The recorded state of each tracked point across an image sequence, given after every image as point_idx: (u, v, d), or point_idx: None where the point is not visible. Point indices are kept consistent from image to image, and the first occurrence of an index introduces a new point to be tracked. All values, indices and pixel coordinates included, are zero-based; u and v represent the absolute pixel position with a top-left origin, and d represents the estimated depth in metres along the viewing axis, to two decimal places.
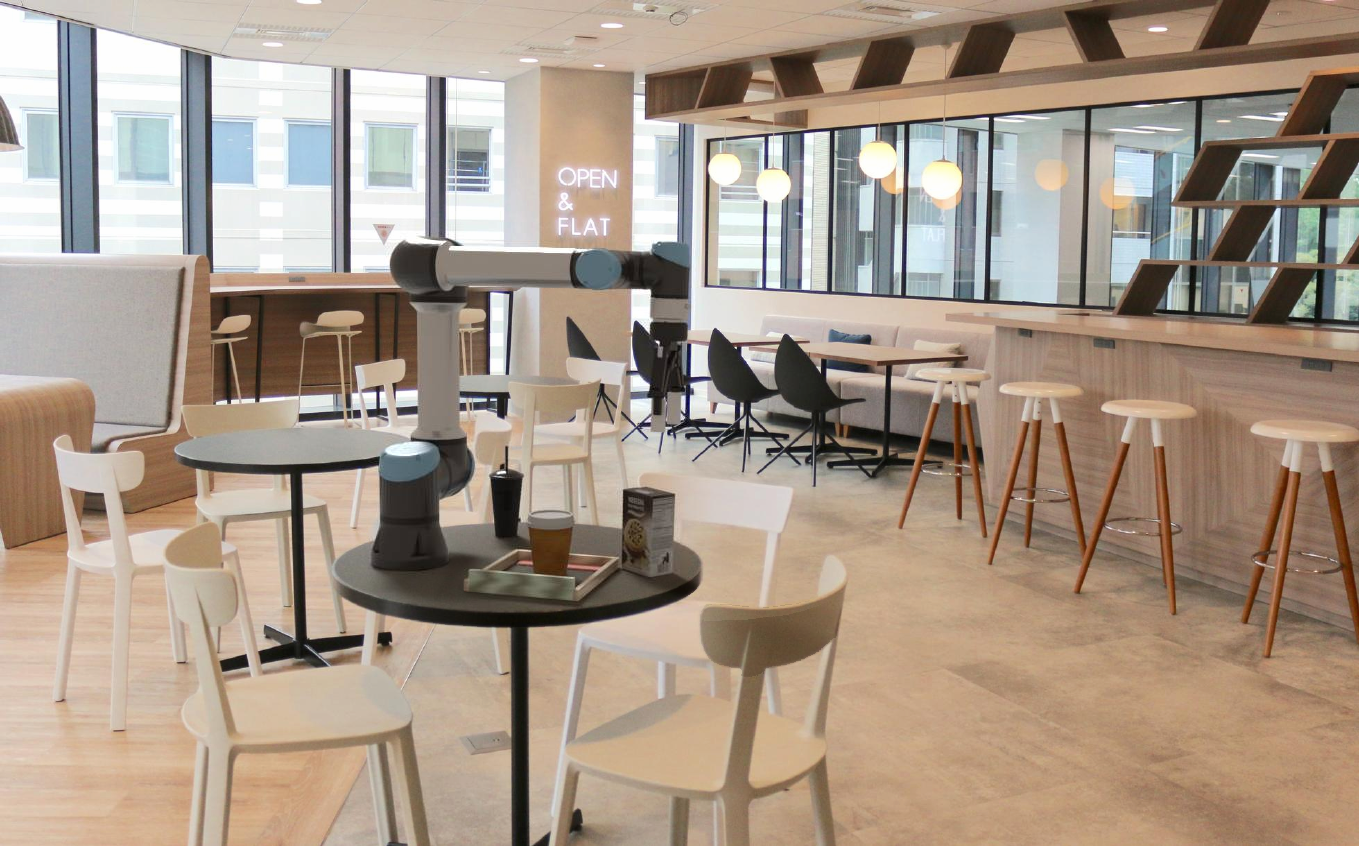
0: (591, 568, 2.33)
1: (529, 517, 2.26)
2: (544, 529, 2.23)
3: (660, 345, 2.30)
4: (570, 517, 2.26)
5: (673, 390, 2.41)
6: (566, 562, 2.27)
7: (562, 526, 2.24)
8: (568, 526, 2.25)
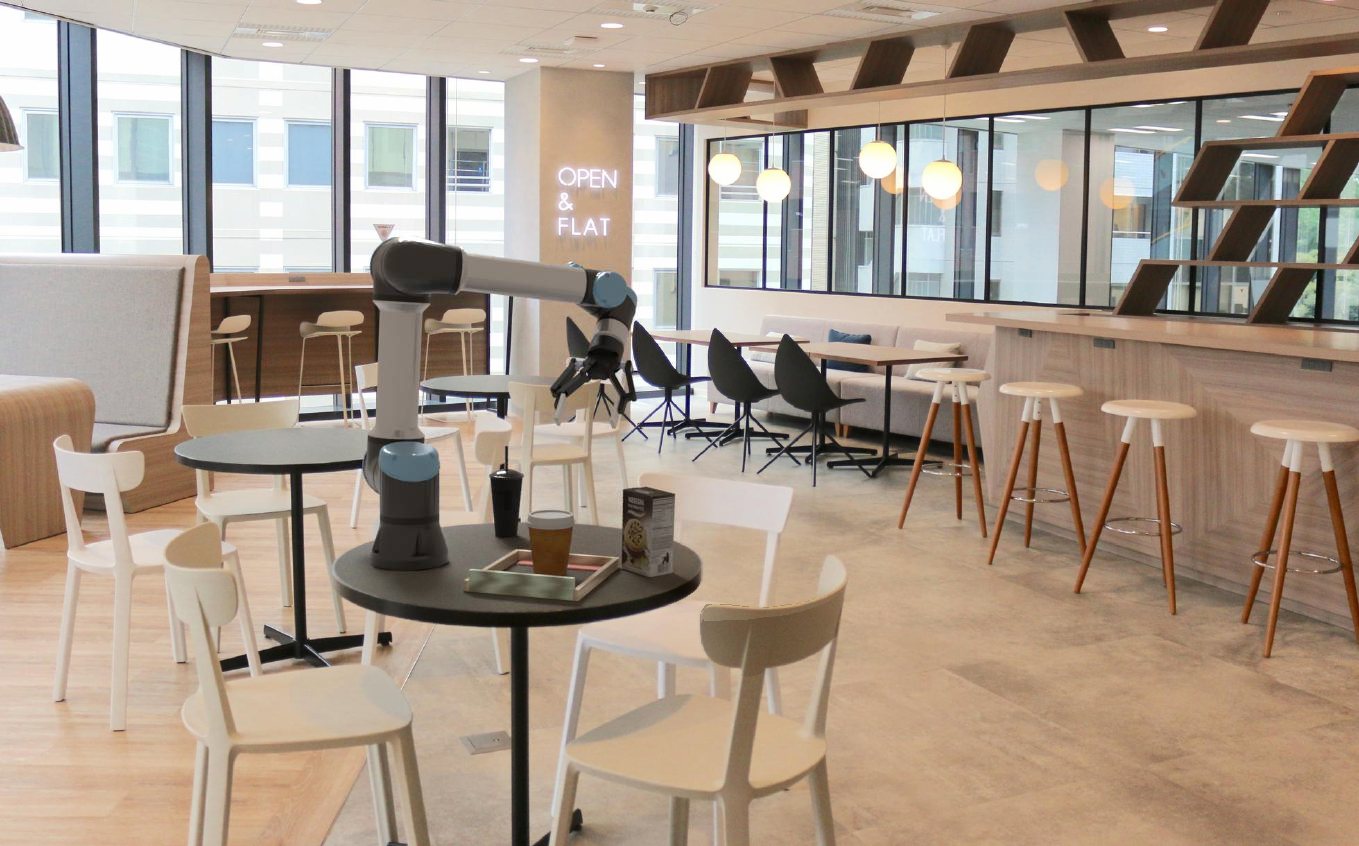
0: (591, 568, 2.33)
1: (529, 517, 2.26)
2: (544, 529, 2.23)
3: (619, 359, 2.54)
4: (570, 517, 2.26)
5: None
6: (566, 562, 2.27)
7: (561, 526, 2.24)
8: (568, 526, 2.25)
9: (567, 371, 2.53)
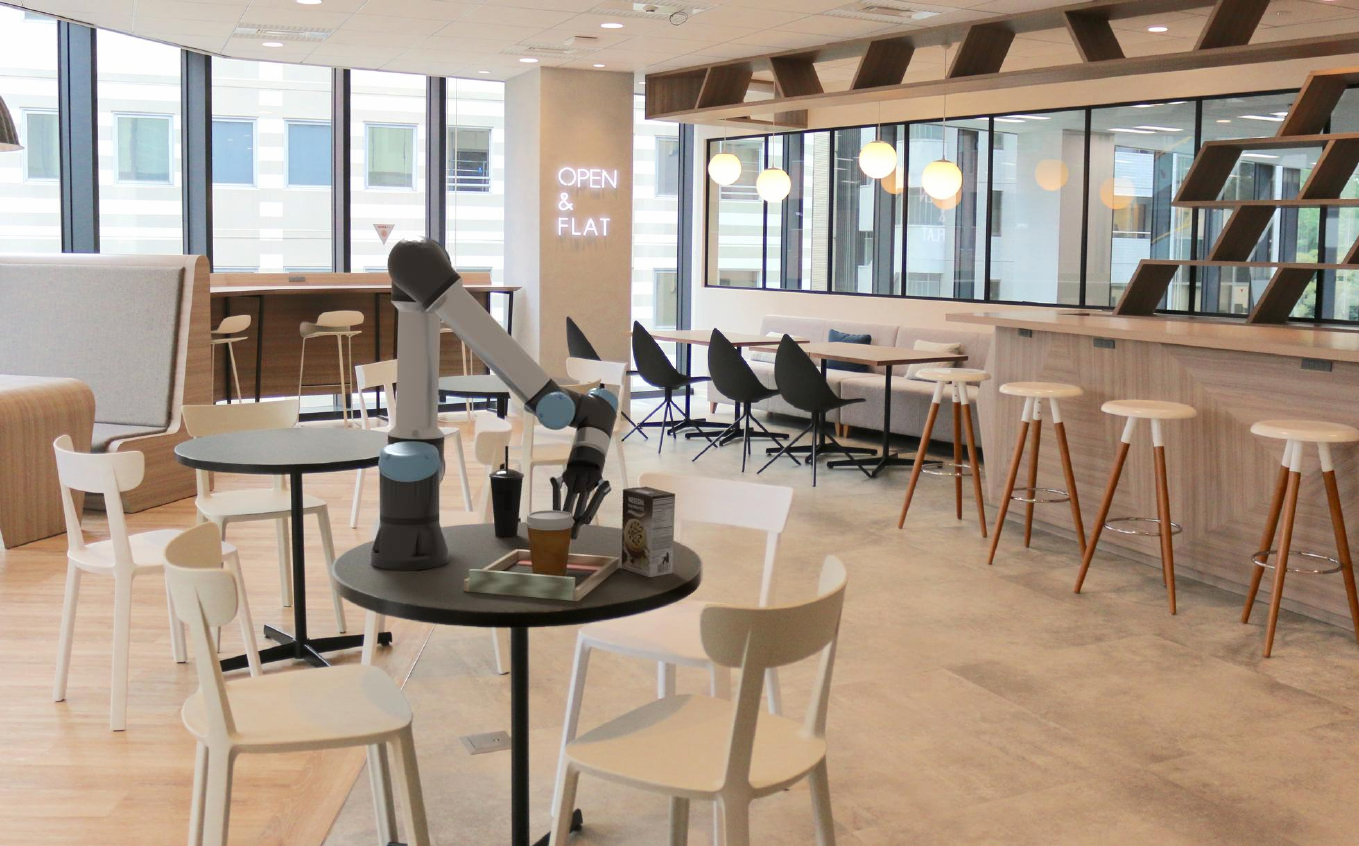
0: (591, 568, 2.33)
1: (528, 518, 2.25)
2: (543, 530, 2.23)
3: None
4: (569, 518, 2.25)
5: None
6: (565, 563, 2.27)
7: (560, 527, 2.23)
8: (567, 527, 2.24)
9: (556, 492, 2.40)
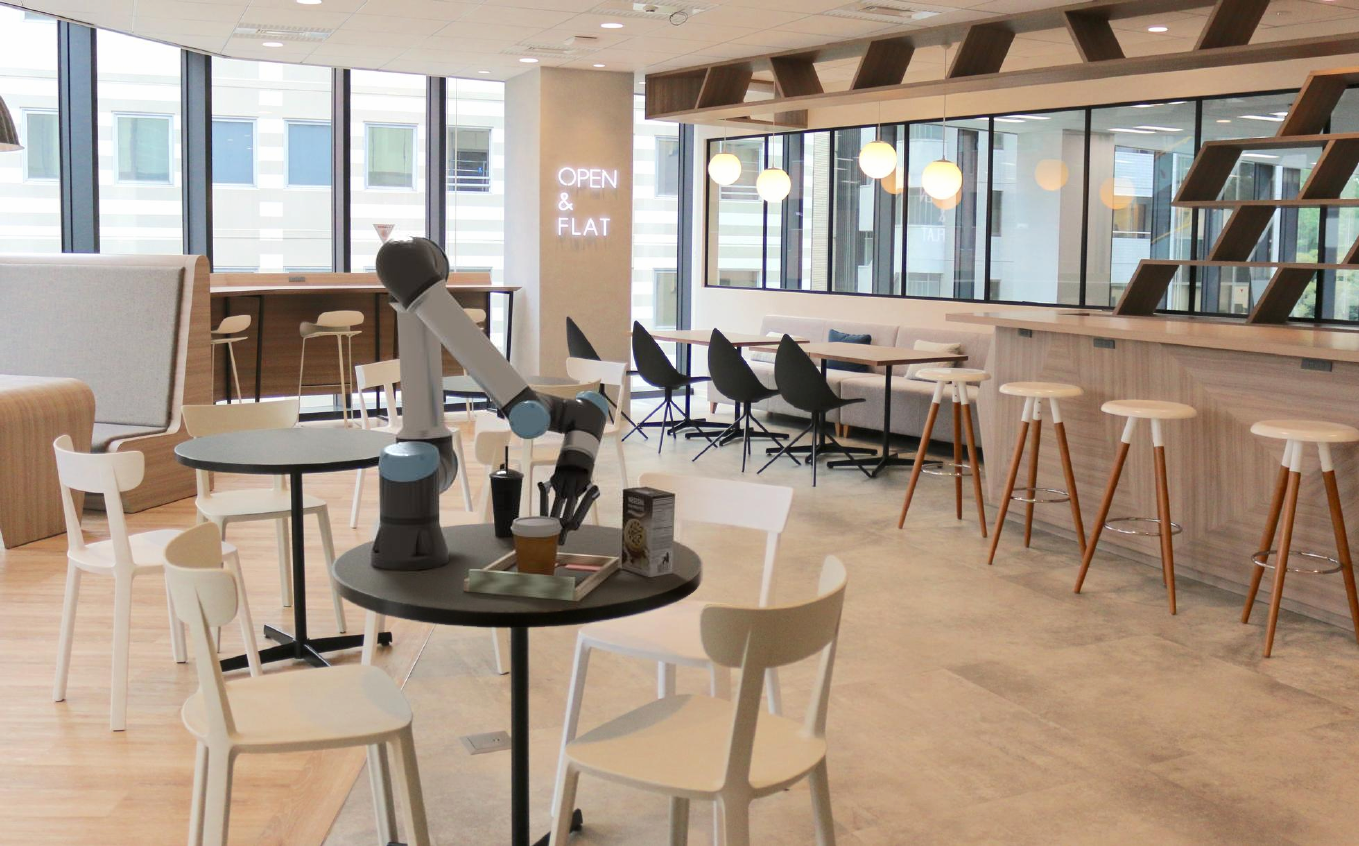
0: (591, 568, 2.33)
1: (513, 524, 2.19)
2: (528, 536, 2.17)
3: (590, 479, 2.35)
4: (555, 524, 2.19)
5: None
6: (552, 571, 2.20)
7: (546, 534, 2.17)
8: (553, 534, 2.18)
9: (543, 496, 2.34)
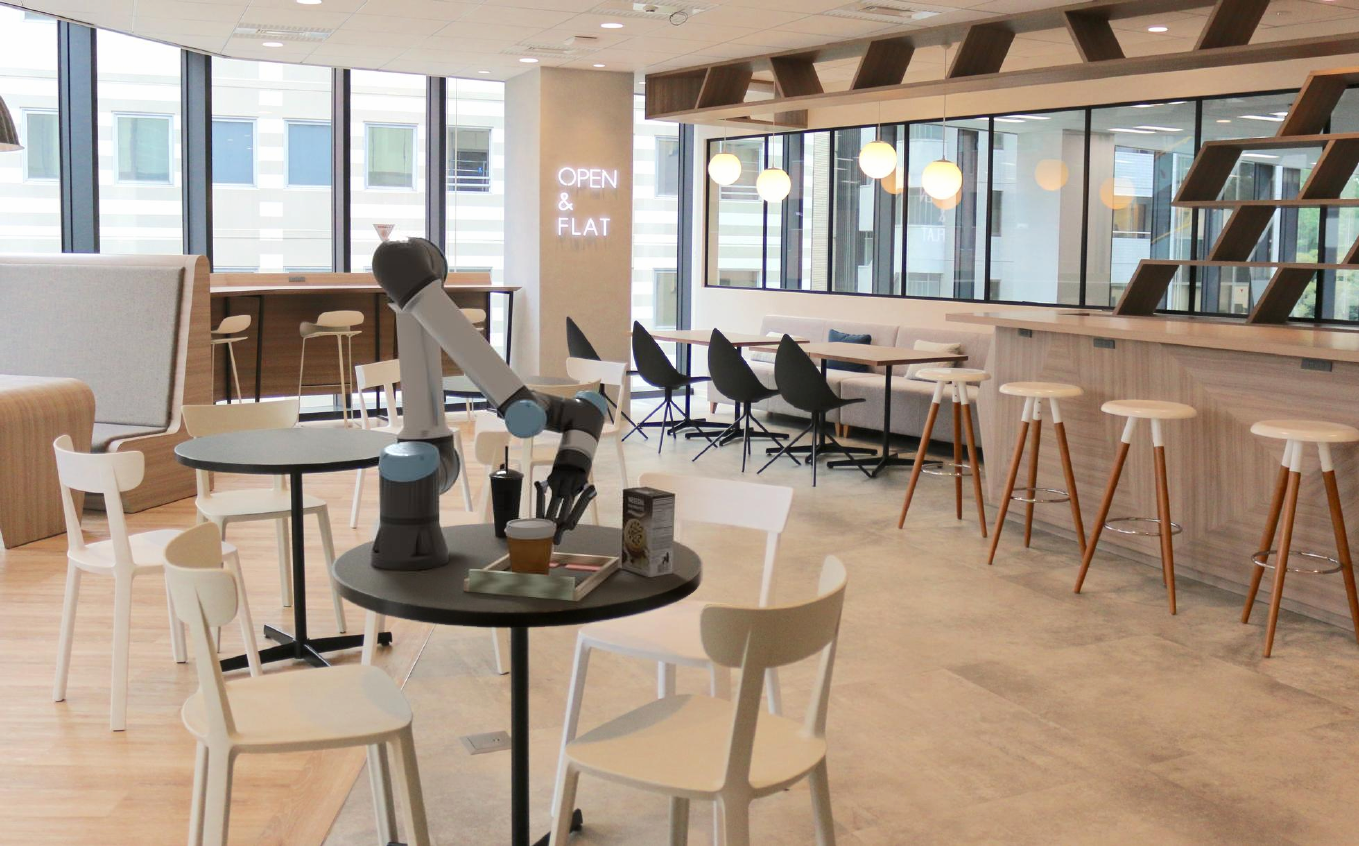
0: (591, 568, 2.33)
1: (507, 526, 2.17)
2: (523, 539, 2.15)
3: (587, 479, 2.34)
4: (550, 526, 2.17)
5: None
6: (546, 573, 2.19)
7: (541, 536, 2.15)
8: (548, 535, 2.16)
9: (540, 496, 2.33)
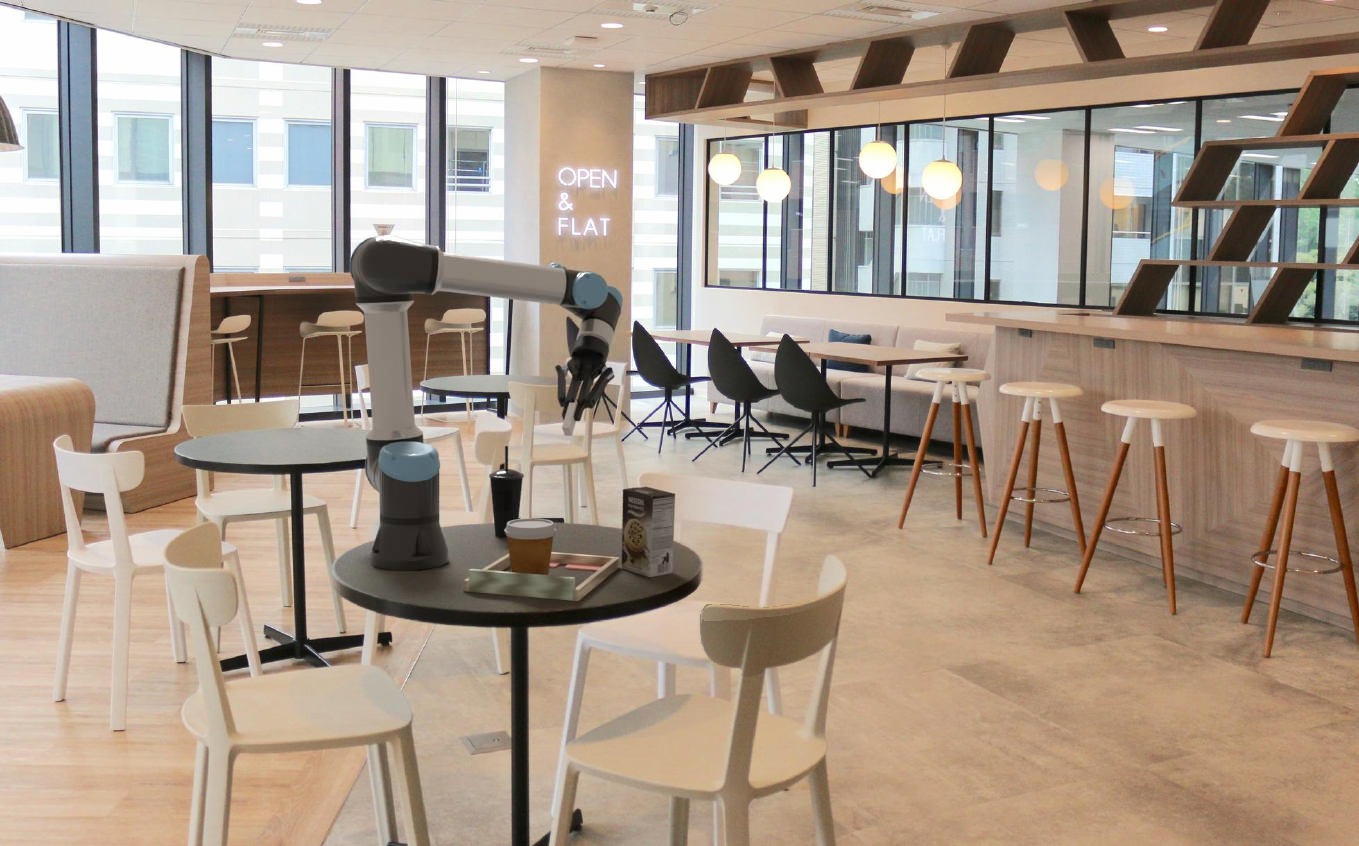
0: (591, 568, 2.33)
1: (507, 526, 2.17)
2: (523, 539, 2.15)
3: (605, 363, 2.50)
4: (550, 526, 2.17)
5: None
6: (546, 573, 2.19)
7: (541, 536, 2.15)
8: (548, 536, 2.16)
9: (561, 378, 2.48)
